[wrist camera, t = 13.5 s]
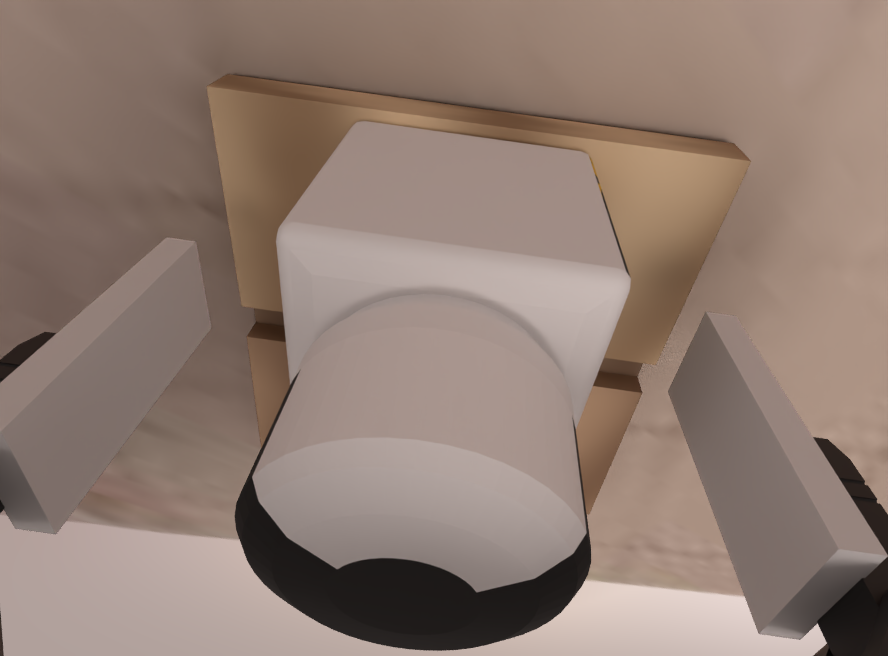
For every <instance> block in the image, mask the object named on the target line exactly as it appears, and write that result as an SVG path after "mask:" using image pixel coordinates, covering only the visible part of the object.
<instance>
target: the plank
mask: <svg viewBox="0 0 888 656" xmlns="http://www.w3.org/2000/svg"><path fill="white" fill-rule="evenodd" d="M207 93H208V99H209V105H210V111H211V118H212V124H213V130H214V137H215V143H216V149H217V155H218V162H219V168H220V174H221V180H222V187H223V193H224V199H225V206H226V212H227V218H228V224H229V231H230V237H231V243H232V249H233V256H234V262H235V268H236V275H237V281H238V287H239V293H240V300H241V306H243V307H250V308H257V309H264V310H271V311H278V312H283V307H282V297H281V286H280V276H279V266H278V256H277V246H276V238H277V232H278V228H279V227H280V225H281V224H282V222H283V221H284V220H285V218H286V217H287V216H288V214H289V213H290V211H291V210H292V209H293V207H294V206H295V204H296V203H297V202H298V200H299V199H300V198H301V196H302V195H303V193H304V192H305V191H306V189H307V188H308V187H309V185H310V184H311V182H312V181H313V180H314V178H315V177H316V175H317V174H318V173H319V171H320V170H321V169H322V167H323V166H324V164H325V163H326V162H327V160H328V159H329V157H330V156H331V155H332V153H333V152H334V151H335V149H336V148H337V146H338V145H339V144H340V142H341V141H342V139H343V138H344V137H345V135H346V134H347V133H348V131H349V130H350V128H351V127H352V126H353V125H354V124H355V123H356V122H360V121H369V122H376V123H383V124H390V125H397V126H404V127H412V128H419V129H426V130H433V131H440V132H447V133H454V134H462V135H469V136H476V137H483V138H490V139H497V140H504V141H511V142H519V143H526V144H533V145H540V146H547V147H554V148H561V149H569V150H576V151H582V152H584V153H586V154H588V155H589V156H590V158H591V159H592V162H593V165H594V168H595V171H596V174H597V177H598V180H599V183H600V186H601V189H602V192H603V195H604V198H605V201H606V204H607V207H608V210H609V213H610V216H611V219H612V223H613V226H614V229H615V232H616V235H617V238H618V241H619V244H620V247H621V250H622V253H623V256H624V259H625V262H626V265H627V268H628V271H629V274H630V277H631V284H630V291H629V294H628V296H627V299H626V302H625V304H624V307H623V309H622V312H621V315H620V317H619V320H618V322H617V325H616V327H615V330H614V333H613V335H612V338H611V340H610V343H609V345H608V348H607V351H606V353H605V356H604V358H610V359H617V360H624V361H631V362H638V363H645V364H652V365H656V363H657V361H658V359H659V357H660V355H661V352H662V350H663V348H664V346H665V344H666V342H667V340H668V337H669V335H670V333H671V331H672V329H673V327H674V325H675V323H676V320H677V318H678V316H679V314H680V312H681V310H682V308H683V306H684V303H685V301H686V299H687V297H688V295H689V293H690V291H691V288H692V286H693V284H694V282H695V280H696V278H697V276H698V274H699V271H700V269H701V267H702V265H703V263H704V261H705V259H706V257H707V254H708V252H709V250H710V248H711V246H712V244H713V242H714V239H715V237H716V235H717V233H718V231H719V229H720V227H721V225H722V222H723V220H724V218H725V216H726V214H727V212H728V210H729V208H730V205H731V203H732V201H733V199H734V197H735V195H736V193H737V190H738V188H739V186H740V184H741V182H742V180H743V178H744V176H745V173H746V171H747V169H748V167H749V165H750V163H751V161H750V159H749V158H748V157H747V156H746V155H745V154H744V153H743V152H742V151H741V150H740V149H739V148H738V147H737V146H736V145H735V144H734V143H727V142H719V141H712V140H705V139H697V138H690V137H683V136H676V135H668V134H661V133H654V132H646V131H639V130H632V129H625V128H617V127H610V126H603V125H595V124H588V123H581V122H573V121H566V120H559V119H552V118H544V117H537V116H530V115H522V114H515V113H508V112H500V111H493V110H486V109H479V108H471V107H464V106H457V105H449V104H442V103H435V102H428V101H420V100H413V99H406V98H398V97H391V96H384V95H376V94H369V93H362V92H355V91H347V90H340V89H333V88H325V87H318V86H311V85H303V84H296V83H289V82H282V81H274V80H267V79H260V78H252V77H245V76H238V75H231V74H227V75H225V76H223V77H222V78H220V79H218V80H217V81H215V82H213V83H212V84H210V85H208V86H207Z"/></svg>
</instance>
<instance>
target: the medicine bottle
mask: <svg viewBox="0 0 888 656" xmlns="http://www.w3.org/2000/svg"><path fill="white" fill-rule="evenodd" d="M276 246H277V256H278V266H279V276H280V286H281V297H282V307H283V317H284V327H285V337H286V348H287V358H288V368H289V378H290V387H289V389H288V391H287V393H286V396H285V398H284V400H283V402H282V404H281V406H280V409H279V411H278V413H277V415H276V417H275V420H274V422H273V424H272V426H271V428H270V430H269V433H268V435H267V437H266V439H265V441H264V443H263V446H262V448H261V450H260V452H259V454H258V457H257V459H256V461H255V463H254V465H253V467H252V470H251V472H250V474H249V476H248V478H247V480H246V483H245V485H244V487H243V489H242V491H241V494H240V496H239V498H238V501H237V504H236V511H235V523H236V530H237V533H238V536H239V539H240V542H241V544H242V547H243V550H244V553H245V556H246V558H247V561H248V563H249V564H250V566H251V568H252V569H253V571H254V573H255V574H256V575H257V576H258V577H259V578H260V580H261V581H262V582H263V583H264V584H265V585H266V586H267V587H268V588H269V589H270V590H271V591H273V592H274V593H275V594H276V595H277V596H279V597H280V598H282V599H283V600H284V601H286V602H287V603H288V604H290V605H292V606H293V607H295V608H296V609H298V610H299V611H301V612H302V613H304V614H305V615H307V616H309V617H310V618H312V619H314V620H315V621H317V622H319V623H321V624H323V625H325V626H327V627H329V628H331V629H333V630H336V631H338V632H341V633H343V634H346V635H348V636H351V637H355V638H358V639H361V640H364V641H368V642H372V643H376V644H381V645H386V646H391V647H398V648H405V649H415V650H441V651H442V650H458V649H467V648H474V647H479V646H484V645H488V644H491V643H494V642H499V641H502V640H506V639H509V638H512V637H516V636H519V635H523V634H525V633H527V632H529V631H532V630H535V629H537V628H539V627H540V626H542V625H544V624H546V623H547V622H549V621H551V620H552V619H553V618H554V617H556V616H557V615H558V614H559V613H561V612H562V610H563V609H564V608H565V607H566V606H567V605H568V604H569V602H570V601H571V600H572V598H573V597H574V596H575V595H576V593H577V592H578V590H579V589H580V588H581V586H582V585H583V583H584V581H585V579H586V577H587V575H588V572H589V568H590V564H591V545H590V537H589V529H588V522H587V514H586V506H585V498H584V490H583V482H582V475H581V467H580V459H579V451H578V443H577V436H576V428H577V425H578V423H579V420H580V418H581V415H582V412H583V410H584V407H585V405H586V402H587V400H588V397H589V394H590V392H591V389H592V387H593V384H594V382H595V379H596V376H597V374H598V371H599V369H600V366H601V363H602V361H603V358H604V356H605V353H606V351H607V348H608V345H609V343H610V340H611V338H612V335H613V333H614V330H615V327H616V325H617V322H618V320H619V317H620V315H621V312H622V309H623V307H624V304H625V302H626V299H627V296H628V294H629V291H630V284H631V277H630V274H629V271H628V268H627V265H626V262H625V259H624V256H623V253H622V250H621V247H620V244H619V241H618V238H617V235H616V232H615V229H614V226H613V223H612V219H611V216H610V213H609V210H608V207H607V204H606V201H605V198H604V195H603V192H602V189H601V186H600V183H599V180H598V177H597V174H596V171H595V168H594V165H593V162H592V159H591V158H590V156H589V155H588V154H586V153H584V152H582V151H576V150H569V149H561V148H554V147H547V146H540V145H533V144H526V143H519V142H511V141H504V140H497V139H490V138H483V137H476V136H469V135H462V134H454V133H447V132H440V131H433V130H426V129H419V128H412V127H404V126H397V125H390V124H383V123H376V122H369V121H360V122H356V123H355V124H354V125H353V126H352V127H351V128H350V130H349V131H348V133H347V134H346V135H345V137H344V138H343V139H342V141H341V142H340V144H339V145H338V146H337V148H336V149H335V151H334V152H333V153H332V155H331V156H330V157H329V159H328V160H327V162H326V163H325V164H324V166H323V167H322V169H321V170H320V171H319V173H318V174H317V175H316V177H315V178H314V180H313V181H312V182H311V184H310V185H309V187H308V188H307V189H306V191H305V192H304V193H303V195H302V196H301V198H300V199H299V200H298V202H297V203H296V204H295V206H294V207H293V209H292V210H291V211H290V213H289V214H288V216H287V217H286V218H285V220H284V221H283V222H282V224H281V225H280V227H279V228H278V232H277V238H276Z"/></svg>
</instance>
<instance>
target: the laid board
mask: <svg viewBox="0 0 888 656" xmlns="http://www.w3.org/2000/svg"><path fill="white" fill-rule="evenodd" d="M254 311H255V319H256V323H255V325H254V326H253V328H252V329H251V331H250V332H249V334H248V335H247V344H248V351H249V359H250V366H251V374H252V382H253V389H254V397H255V404H256V412H257V419H258V427H259V435H260V442H261V448H262V446H263V443H264V441H265V439H266V437H267V435H268V433H269V430H270V428H271V426H272V424H273V422H274V420H275V417H276V415H277V413H278V411H279V409H280V406H281V404H282V402H283V400H284V398H285V396H286V393H287V391H288V389H289V387H290V378H289V368H288V358H287V348H286V337H285V327H284V317H283V312H278V311H271V310H264V309H257V308H254ZM642 364H643V363H638V362H631V361H624V360H617V359H610V358H603V361H602V363H601V366H600V369H599V371H598V374H597V376H596V379H595V382H594V384H593V387H592V389H591V392H590V394H589V397H588V400H587V402H586V405H585V407H584V410H583V412H582V415H581V418H580V420H579V423H578V425H577V428H576V436H577V443H578V451H579V459H580V467H581V475H582V482H583V490H584V498H585V506H586V514H590V511H591V509H592V507H593V504H594V502H595V500H596V498H597V495H598V493H599V491H600V488H601V486H602V484H603V482H604V479H605V477H606V475H607V472H608V470H609V468H610V466H611V463H612V461H613V459H614V456H615V454H616V452H617V450H618V447H619V445H620V443H621V440H622V438H623V436H624V434H625V431H626V429H627V427H628V424H629V422H630V420H631V418H632V415H633V413H634V411H635V408H636V406H637V404H638V402H639V399H640V397H641V395H642V391H641V387H640V384H639V381H638V378H637V376H638V374H639V371H640V369H641V366H642Z"/></svg>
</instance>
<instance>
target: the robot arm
mask: <svg viewBox="0 0 888 656" xmlns="http://www.w3.org/2000/svg"><path fill="white" fill-rule="evenodd" d="M210 330H211V322H210V316H209V311H208V305H207V300H206V294H205V288H204V283H203V277H202V272H201V266H200V260H199V255H198V249H197V243H196V241H190V240H183V239H176V238H168V237H166V238H165V239H164V240H163V241H162V242H161V243H159V244H158V245H157V246H156V247H155V248H154V249H153V250H151V251H150V252H149V253H148V254H147V255H146V256H145V257H143V258H142V259H141V260H140V261H139V262H138V263H137V264H135V265H134V266H133V267H132V268H131V269H130V270H129V271H127V272H126V273H125V274H124V275H123V276H122V277H121V278H119V279H118V280H117V281H116V282H115V283H114V284H113V285H111V286H110V287H109V288H108V289H107V290H106V291H105V292H103V293H102V294H101V295H100V296H99V297H98V298H97V299H95V300H94V301H93V302H92V303H91V304H90V305H89V306H87V307H86V308H85V309H84V310H83V311H82V312H81V313H79V314H78V315H77V316H76V317H75V318H74V319H73V320H71V321H70V322H69V323H68V324H67V325H66V326H65V327H63V328H62V329H61V330H60V331H59V332H58V333H50V332H44V333H42V334H40V335H38V336H36V337H34V338H32V339H30V340H28V341H26V342H23V343H21V344H19V345H18V346H16V347H15V348H14V349H13V350H12V351H10V352H9V353H8V354H7V355H6V356H4V357H3V358H2V359H1V360H0V513H1V512H2V511H3V509H4V511H5V512H6V514H7V516H8V517H9V519H10V520H11V522H12V524H13V526H14V527H15V528H16V529H22V530H29V531H36V532H43V533H51V534H57V532H58V531H59V530H60V528H61V527H62V526H63V524H64V523H65V522H66V520H67V519H68V518H69V516H70V515H71V514H72V512H73V511H74V510H75V508H76V507H77V506H78V505H79V503H80V502H81V501H82V499H83V498H84V497H85V495H86V494H87V493H88V491H89V490H90V489H91V487H92V486H93V485H94V483H95V482H96V481H97V479H98V478H99V477H100V475H101V474H102V473H103V471H104V470H105V469H106V467H107V466H108V465H109V463H110V462H111V461H112V459H113V458H114V457H115V455H116V454H117V453H118V451H119V450H120V449H121V448H122V446H123V445H124V444H125V442H126V441H127V440H128V438H129V437H130V436H131V434H132V433H133V432H134V430H135V429H136V428H137V426H138V425H139V424H140V422H141V421H142V420H143V418H144V417H145V416H146V414H147V413H148V412H149V410H150V409H151V408H152V406H153V405H154V404H155V402H156V401H157V400H158V398H159V397H160V396H161V394H162V393H163V392H164V391H165V389H166V388H167V387H168V385H169V384H170V383H171V381H172V380H173V379H174V377H175V376H176V375H177V373H178V372H179V371H180V369H181V368H182V367H183V365H184V364H185V363H186V361H187V360H188V359H189V357H190V356H191V355H192V353H193V352H194V351H195V349H196V348H197V347H198V345H199V344H200V343H201V341H202V340H203V339H204V337H205V336H206V335H207V334H208V332H209V331H210ZM668 393H669V396H670V398H671V401H672V404H673V406H674V409H675V412H676V414H677V417H678V420H679V422H680V425H681V428H682V430H683V433H684V436H685V438H686V441H687V444H688V446H689V449H690V452H691V454H692V457H693V460H694V462H695V465H696V468H697V470H698V473H699V476H700V478H701V481H702V484H703V486H704V489H705V492H706V494H707V497H708V500H709V502H710V505H711V508H712V510H713V513H714V516H715V518H716V521H717V524H718V526H719V529H720V532H721V534H722V537H723V540H724V542H725V545H726V548H727V550H728V553H729V556H730V558H731V561H732V564H733V566H734V569H735V572H736V574H737V577H738V580H739V582H740V585H741V588H742V590H743V593H744V596H745V598H746V601H747V603H748V606H749V609H750V612H751V614H752V617H753V620H754V622H755V625H756V628H757V630H758V633H759V634H763V635H771V636H777V637H785V638H792V639H799V640H800V639H801V638H803V637H804V636H805V635H806V634H807V633H808V632H809V631H810V630H811V629H812V628H813V627H814V626H815V625H816V624H817V623H818V625H819V627H820V629H821V631H822V633H823V636H824V637H825V640H826V642H827V644H826V645H825V646H824V647H823V648H822V649H820V650H819V651H818V652H817V653H816V654H815V655H814V656H888V514H887V513H886V512H885V510H884V509H883V507H882V506H881V504H878V503H877V498H876V497H875V495H874V494H873V492H872V491H871V489H870V488H869V486H867V485H865V484H864V482H865V481H864V479H863V478H862V476H861V475H860V473H859V472H858V470H857V469H856V467H855V466H854V464H853V463H852V461H851V460H850V459H849V458H848V457H847V456H846V455H845V454H843V453H842V452H841V451H840V450H839V449H838V448H837V447H836V446H835V445H833V444H832V443H831V442H830V441H829V440H828V439H822V438H815V437H812V435H811V433H810V432H809V430H808V429H807V427H806V426H805V424H804V422H803V421H802V419H801V418H800V416H799V415H798V413H797V411H796V410H795V408H794V407H793V405H792V403H791V402H790V400H789V399H788V397H787V396H786V394H785V392H784V391H783V389H782V388H781V386H780V385H779V383H778V381H777V380H776V378H775V377H774V375H773V374H772V372H771V370H770V369H769V367H768V366H767V364H766V363H765V361H764V359H763V358H762V356H761V355H760V353H759V351H758V350H757V348H756V347H755V345H754V344H753V342H752V340H751V339H750V337H749V336H748V334H747V333H746V331H745V329H744V328H743V326H742V325H741V323H740V322H739V320H738V318H737V317H736V316H734V315H727V314H720V313H712V312H705V314H704V317H703V319H702V321H701V323H700V325H699V327H698V329H697V331H696V333H695V336H694V338H693V340H692V342H691V344H690V346H689V348H688V350H687V352H686V355H685V357H684V359H683V361H682V363H681V365H680V367H679V369H678V371H677V373H676V376H675V378H674V380H673V382H672V384H671V386H670V388H669V390H668ZM0 656H4V655H3V641H2V628H1V614H0Z"/></svg>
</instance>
